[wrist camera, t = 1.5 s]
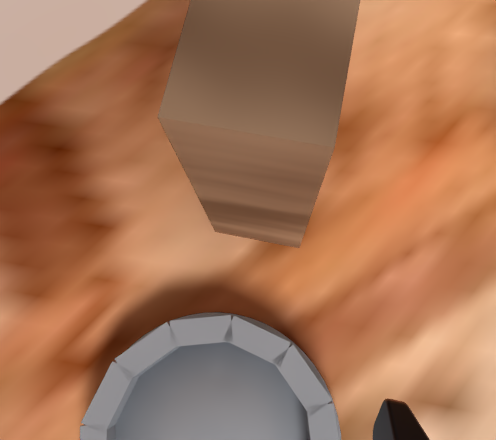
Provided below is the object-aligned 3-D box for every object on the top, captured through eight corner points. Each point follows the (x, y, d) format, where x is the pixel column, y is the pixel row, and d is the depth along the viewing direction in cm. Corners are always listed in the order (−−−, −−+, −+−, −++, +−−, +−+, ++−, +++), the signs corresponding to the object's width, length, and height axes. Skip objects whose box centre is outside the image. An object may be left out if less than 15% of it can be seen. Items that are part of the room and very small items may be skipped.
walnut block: (299, 248, 24) (334, 147, 11) (215, 231, 24) (157, 116, 11) (313, 168, 25) (361, -6, 12) (233, 154, 25) (198, -28, 13)
